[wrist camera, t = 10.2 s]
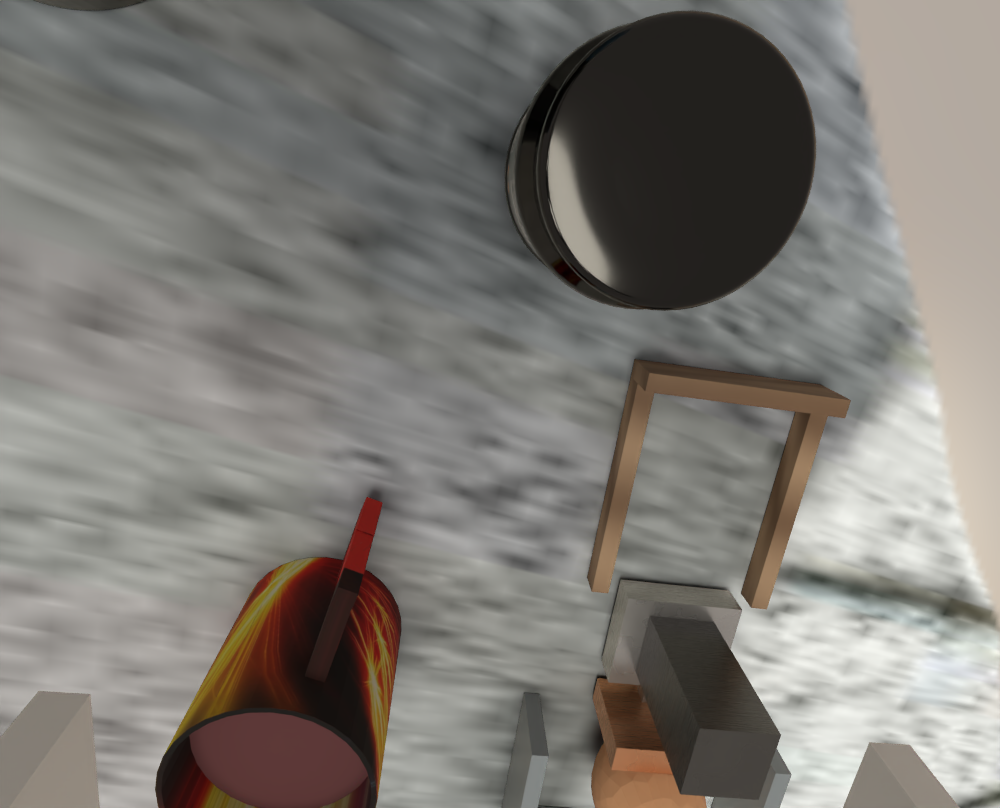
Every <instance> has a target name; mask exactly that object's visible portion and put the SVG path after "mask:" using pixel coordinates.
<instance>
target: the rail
mask: <svg viewBox="0 0 1000 808" xmlns="http://www.w3.org/2000/svg"><path fill="white" fill-rule="evenodd" d="M654 393H659V394H667V395H674V396H682V397H689V398H697V399H705V400H712V401H720V402H727V403H735V404H742V405H750V406H757V407H765V408H773V409H780V410H788V411H795V416H794V419H793V422H792V426H791V429H790V432H789V436H788V439H787V442H786V446H785V449H784V452H783V456H782V459H781V462H780V466H779V469H778V472H777V476H776V479H775V482H774V486H773V489H772V492H771V496H770V499H769V502H768V506H767V509H766V512H765V516H764V519H763V522H762V526H761V529H760V532H759V536H758V539H757V542H756V546H755V549H754V552H753V556H752V559H751V562H750V566H749V569H748V572H747V576H746V579H745V582H744V586H743V589H742V592H741V594H742V595H743V597H744V598H745V600H746V601H747V602H748V604H749V605H750V607H751V608H759V609H767V607H768V603H769V600H770V597H771V594H772V591H773V588H774V584H775V581H776V578H777V575H778V572H779V569H780V565H781V562H782V559H783V556H784V553H785V550H786V547H787V543H788V540H789V537H790V534H791V531H792V528H793V524H794V521H795V518H796V515H797V512H798V509H799V505H800V502H801V499H802V496H803V493H804V490H805V486H806V483H807V480H808V477H809V474H810V471H811V467H812V464H813V461H814V458H815V455H816V452H817V449H818V445H819V442H820V439H821V436H822V433H823V430H824V426H825V423H826V420H827V417H828V416H833V417H841V418H845V417H846V414H847V411H848V408H849V404H850V401H851V400H849V399H847V398H845V397H844V396H842V395H840V394H838V393H836V392H834V391H832V390H830V389H828V388H826V387H824V386H823V385H820V384H812V383H805V382H798V381H791V380H783V379H776V378H769V377H761V376H754V375H747V374H740V373H732V372H725V371H718V370H710V369H703V368H696V367H689V366H681V365H674V364H667V363H659V362H652V361H645V360H638V359H635V360H634V365H633V370H632V374H631V379H630V383H629V388H628V393H627V397H626V402H625V406H624V411H623V416H622V420H621V425H620V429H619V434H618V439H617V443H616V448H615V452H614V457H613V461H612V466H611V471H610V475H609V480H608V484H607V489H606V494H605V498H604V503H603V507H602V512H601V517H600V521H599V526H598V530H597V535H596V540H595V544H594V549H593V553H592V558H591V563H590V567H589V572H588V576H587V578H588V581H589V585H590V588H591V591H592V592H601V593H608V592H609V587H610V583H611V579H612V574H613V570H614V565H615V561H616V557H617V552H618V548H619V544H620V539H621V535H622V531H623V526H624V522H625V518H626V513H627V509H628V505H629V500H630V496H631V492H632V487H633V483H634V479H635V474H636V470H637V466H638V461H639V457H640V453H641V448H642V444H643V440H644V435H645V431H646V427H647V422H648V418H649V414H650V409H651V405H652V401H653V396H654Z"/></svg>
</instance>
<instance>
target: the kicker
mask: <svg viewBox="0 0 1000 808" xmlns="http://www.w3.org/2000/svg"><path fill="white" fill-rule="evenodd" d="M741 612H742V609H741V608H740V606H739V605H738V603H737V602H736V600H735V599H734V597H733V596H732V594H731V593H730V591H727V590H718V589H708V588H698V587H688V586H679V585H669V584H659V583H650V582H640V581H630V580H620V584H619V589H618V593H617V597H616V601H615V606H614V610H613V614H612V618H611V623H610V627H609V631H608V635H607V640H606V644H605V648H604V652H603V657H602V663H603V666H604V670H605V673H606V676H607V679H601V678H597V682H596V686H595V691H594V695H593V701H594V705H595V709H596V713H597V717H598V720H599V724H600V728H601V732H602V736H603V740H604V744H605V748H606V751H607V755H608V759H609V763H610V767H611V770H620V771H633V772H647V773H660V774H673V776H674V779H675V782H676V784H677V787H678V790H679V793H680V794H681V795H695V796H710V797H724V798H738V799H752V800H759V797H760V794H761V791H762V788H763V785H764V783H765V780H766V777H767V774H768V771H769V768H770V765H771V762H772V759H773V757H774V754H775V751H776V748H777V745H778V742H779V739H780V736H781V734H780V733H779V731H778V729H777V728H776V726H775V724H774V723H773V721H772V719H771V718H770V716H769V714H768V712H767V711H766V709H765V707H764V706H763V704H762V702H761V701H760V699H759V697H758V696H757V694H756V692H755V690H754V689H753V687H752V685H751V684H750V682H749V680H748V679H747V677H746V675H745V673H744V672H743V670H742V668H741V667H740V665H739V663H738V662H737V660H736V658H735V657H734V655H733V653H732V651H731V650H730V648H731V645H732V642H733V639H734V635H735V632H736V629H737V625H738V622H739V619H740V615H741Z"/></svg>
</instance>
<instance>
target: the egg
mask: <svg viewBox="0 0 1000 808" xmlns="http://www.w3.org/2000/svg"><path fill="white" fill-rule="evenodd" d="M591 788H592V796H593V800H594V805H595V808H706V800H705V796H695V795H681V794H680V793H679V790H678V787H677V784H676V782H675V779H674V776H673V774H660V773H647V772H633V771H620V770H611V767H610V763H609V759H608V755H607V751H606V748H605V744H604V743H603V745H602V746H601V748H600V750H599V752H598V754H597V756H596V759H595V763H594V767H593V771H592V781H591Z"/></svg>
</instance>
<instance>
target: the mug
mask: <svg viewBox="0 0 1000 808" xmlns="http://www.w3.org/2000/svg"><path fill="white" fill-rule="evenodd" d="M381 507H382V502H379V501H377V500H374V499H371V498H369V497H367V498H366V500H365V502H364V505H363V507H362V509H361V512H360V514H359V517H358V520H357V523H356V526H355V528H354V531H353V534H352V537H351V540H350V543H349V545H348V548H347V551H346V554H345V557H344V559H343V560H339V559H334V558H328V557H311V558H305V559H299V560H295V561H292V562H289V563H286V564H284V565H281V566H279V567H278V568H276V569H274V570H273V571H271V572H269V573H268V574H267V575H266V576H265V577H264V578H263V579H261V580H260V581H259V582H258V583H257V585H256V586H255V588H254V589H253V591H252V592H251V594H250V595H249V597H248V599H247V601H246V603H245V605H244V606H243V608H242V610H241V612H240V614H239V616H238V618H237V620H236V621H235V623H234V625H233V627H232V629H231V631H230V633H229V634H228V636H227V638H226V640H225V642H224V644H223V646H222V648H221V649H220V651H219V653H218V655H217V657H216V659H215V661H214V663H213V664H212V666H211V668H210V670H209V672H208V674H207V676H206V677H205V679H204V681H203V683H202V685H201V687H200V689H199V691H198V692H197V694H196V696H195V698H194V700H193V702H192V704H191V705H190V707H189V709H188V711H187V713H186V715H185V717H184V719H183V720H182V722H181V724H180V726H179V728H178V730H177V732H176V734H175V735H174V737H173V739H172V741H171V743H170V745H169V747H168V748H167V750H166V752H165V754H164V756H163V758H162V761H161V763H160V766H159V769H158V771H157V777H156V787H155V791H156V797H157V803H158V807H159V808H376V804H377V799H378V791H379V784H380V777H381V770H382V763H383V756H384V749H385V742H386V735H387V728H388V721H389V714H390V707H391V700H392V693H393V685H394V678H395V671H396V664H397V657H398V650H399V643H400V636H401V617H400V613H399V609H398V605H397V603H396V601H395V599H394V597H393V595H392V594H391V592H390V591H389V590H388V589H387V587H386V586H385V585H384V584H383V582H381V581H380V580H379V579H378V578H377V577H375V576H374V575H373V574H372V573H370V572H369V571H367V570H365V567H366V563H367V560H368V556H369V552H370V548H371V544H372V541H373V537H374V534H375V530H376V526H377V522H378V519H379V515H380V511H381Z"/></svg>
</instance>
